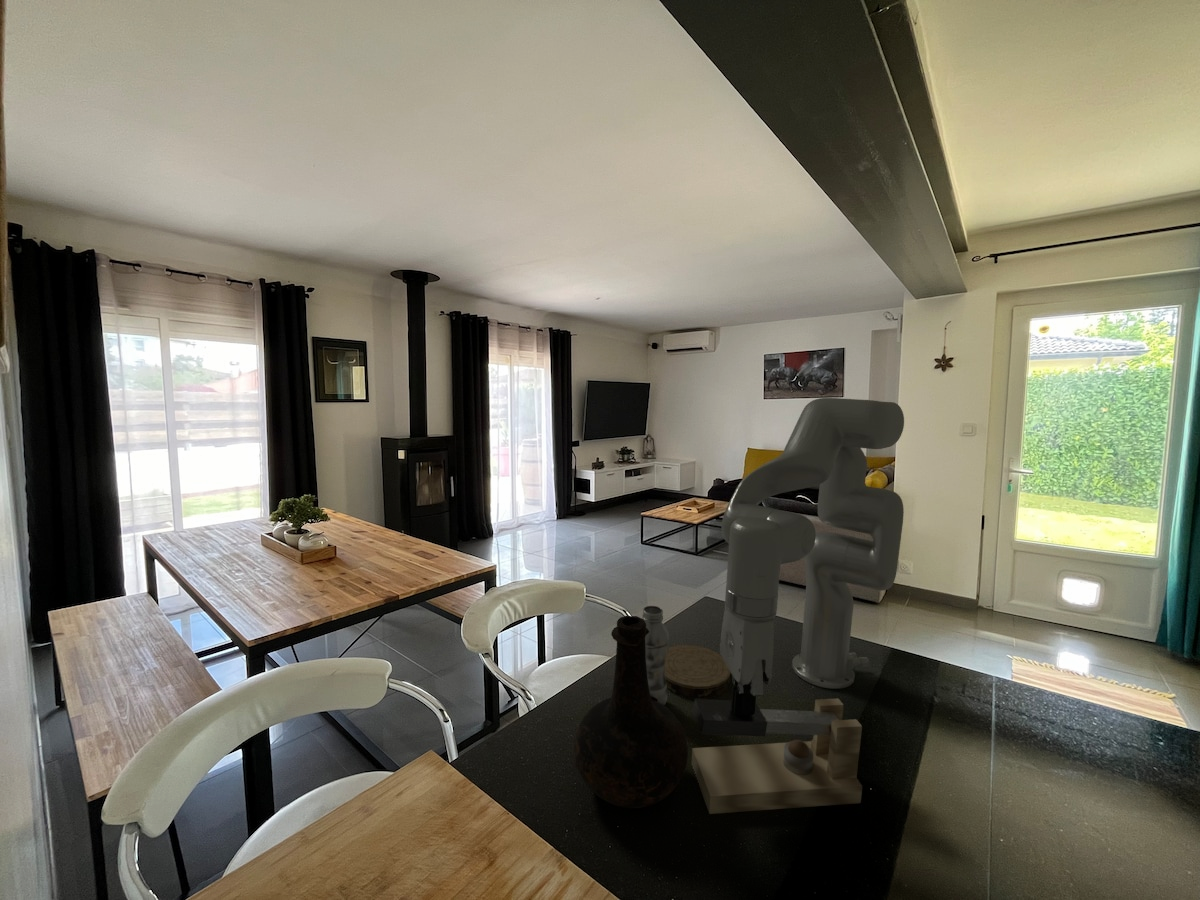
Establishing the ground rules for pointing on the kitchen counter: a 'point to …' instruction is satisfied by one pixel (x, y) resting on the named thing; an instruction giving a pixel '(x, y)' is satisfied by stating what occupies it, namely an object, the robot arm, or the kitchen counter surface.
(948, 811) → the kitchen counter surface
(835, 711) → the nutcracker base
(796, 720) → the lever
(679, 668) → the brown round flat disc
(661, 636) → the plastic bottle
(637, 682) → the glass bottle
